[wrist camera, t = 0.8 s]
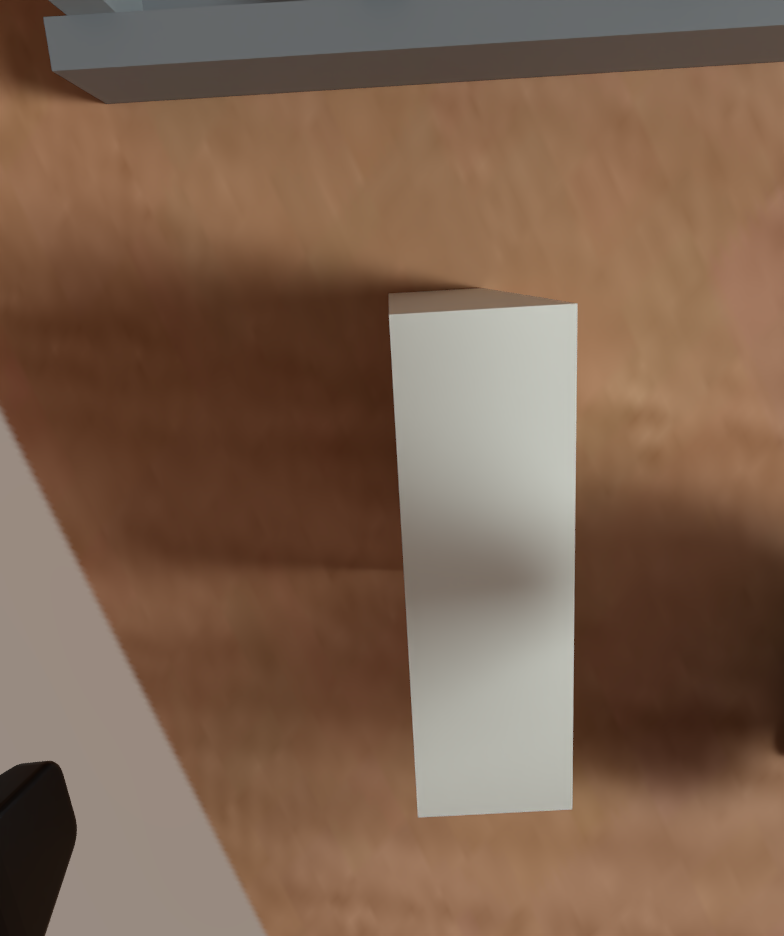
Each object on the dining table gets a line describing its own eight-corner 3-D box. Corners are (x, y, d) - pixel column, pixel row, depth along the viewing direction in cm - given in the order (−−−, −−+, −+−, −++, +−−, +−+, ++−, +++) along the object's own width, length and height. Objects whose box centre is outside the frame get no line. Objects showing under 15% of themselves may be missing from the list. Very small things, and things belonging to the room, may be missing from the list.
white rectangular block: (481, 288, 19) (576, 303, 9) (488, 565, 21) (572, 809, 12) (388, 293, 19) (388, 314, 9) (404, 569, 21) (417, 816, 12)
